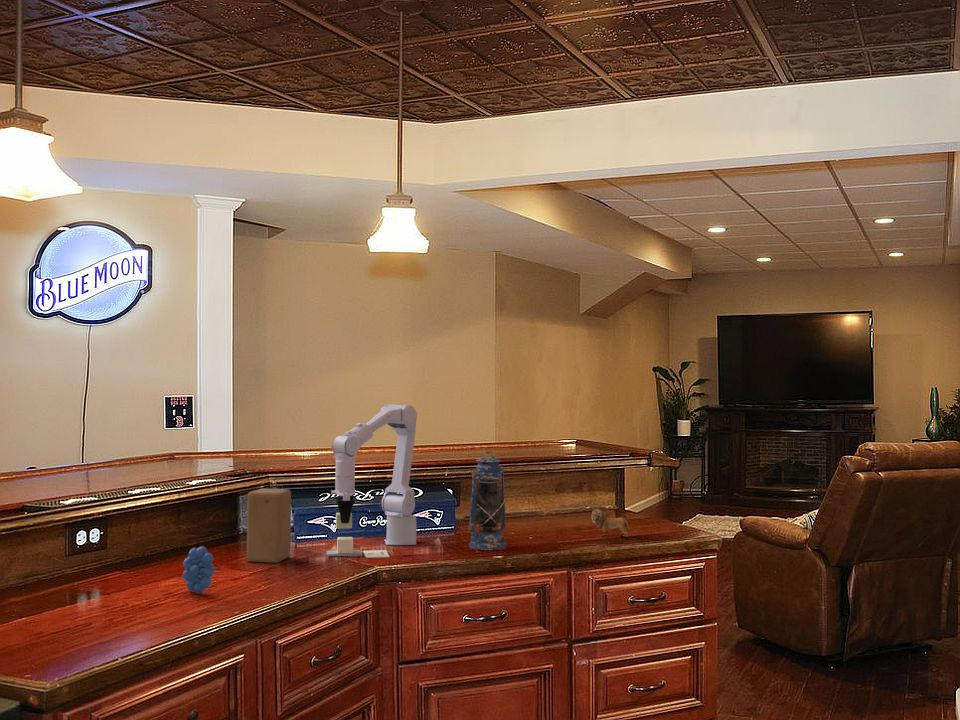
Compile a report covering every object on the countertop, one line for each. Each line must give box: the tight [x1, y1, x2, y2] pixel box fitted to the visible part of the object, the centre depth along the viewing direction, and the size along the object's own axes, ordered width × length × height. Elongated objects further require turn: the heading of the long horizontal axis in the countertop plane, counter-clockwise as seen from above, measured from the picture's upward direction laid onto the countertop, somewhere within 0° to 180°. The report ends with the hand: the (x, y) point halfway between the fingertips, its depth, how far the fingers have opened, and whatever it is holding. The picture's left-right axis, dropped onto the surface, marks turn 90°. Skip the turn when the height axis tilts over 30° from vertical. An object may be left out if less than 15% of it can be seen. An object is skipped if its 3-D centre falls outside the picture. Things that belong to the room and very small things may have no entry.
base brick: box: [326, 549, 363, 558], centre depth 297 cm, size 10×5×2 cm, turn 104°
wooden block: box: [246, 488, 292, 564], centre depth 289 cm, size 10×10×20 cm
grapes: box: [182, 545, 216, 595], centre depth 248 cm, size 12×7×12 cm, turn 52°
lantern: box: [468, 451, 507, 550], centre depth 312 cm, size 15×12×30 cm
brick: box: [336, 536, 354, 553], centre depth 297 cm, size 4×4×4 cm
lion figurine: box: [591, 508, 632, 536], centre depth 333 cm, size 15×5×9 cm, turn 72°
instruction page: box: [362, 549, 391, 559], centre depth 299 cm, size 7×10×1 cm
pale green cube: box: [335, 512, 353, 529], centre depth 297 cm, size 4×4×4 cm
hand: (344, 521), depth 297 cm, fingers closed on pale green cube, 4 cm apart
